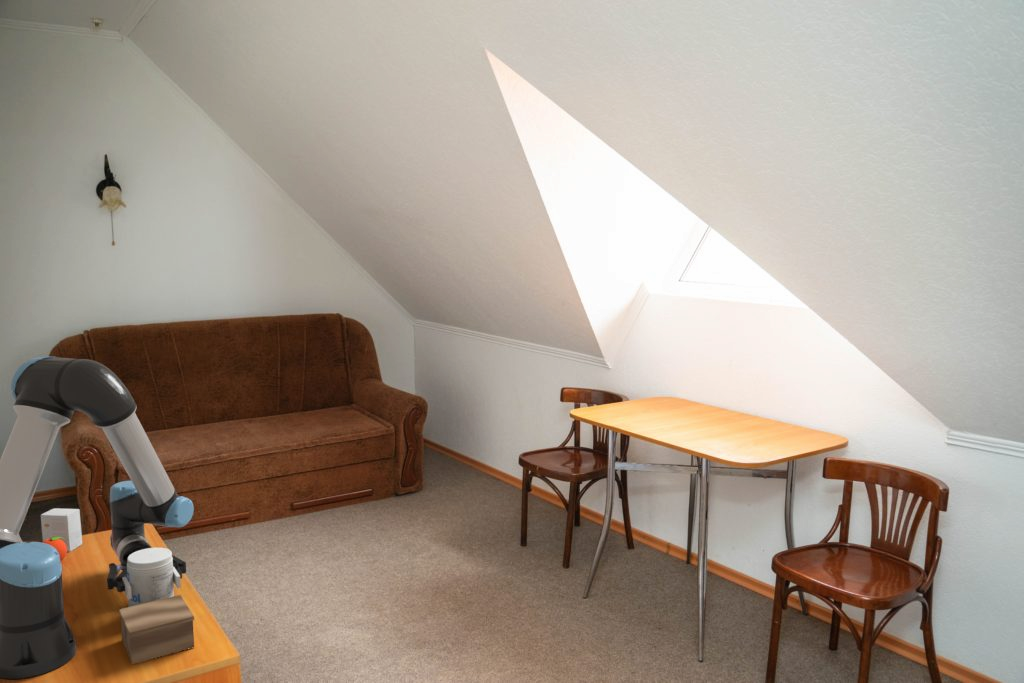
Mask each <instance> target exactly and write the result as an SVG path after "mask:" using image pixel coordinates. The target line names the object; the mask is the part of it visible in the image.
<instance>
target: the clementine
mask: <svg viewBox="0 0 1024 683" xmlns="http://www.w3.org/2000/svg"><path fill="white" fill-rule="evenodd" d="M59 538H63V537H55V538H50V539H47V540H45V541H44V542H43V541H42V542H41V543H46V544H49V545H51V546H53V547H54V548H55V549H56V550H57V551H58V553H59V556H60V563H61V562H62V561H63V560H64V559H65V558H66V556H67V553H68V552H67V546H66V544H65V542H64V541H62V540H61V539H59ZM65 539H66V538H65ZM67 541H68V540H67ZM68 542H69V541H68Z"/></svg>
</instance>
